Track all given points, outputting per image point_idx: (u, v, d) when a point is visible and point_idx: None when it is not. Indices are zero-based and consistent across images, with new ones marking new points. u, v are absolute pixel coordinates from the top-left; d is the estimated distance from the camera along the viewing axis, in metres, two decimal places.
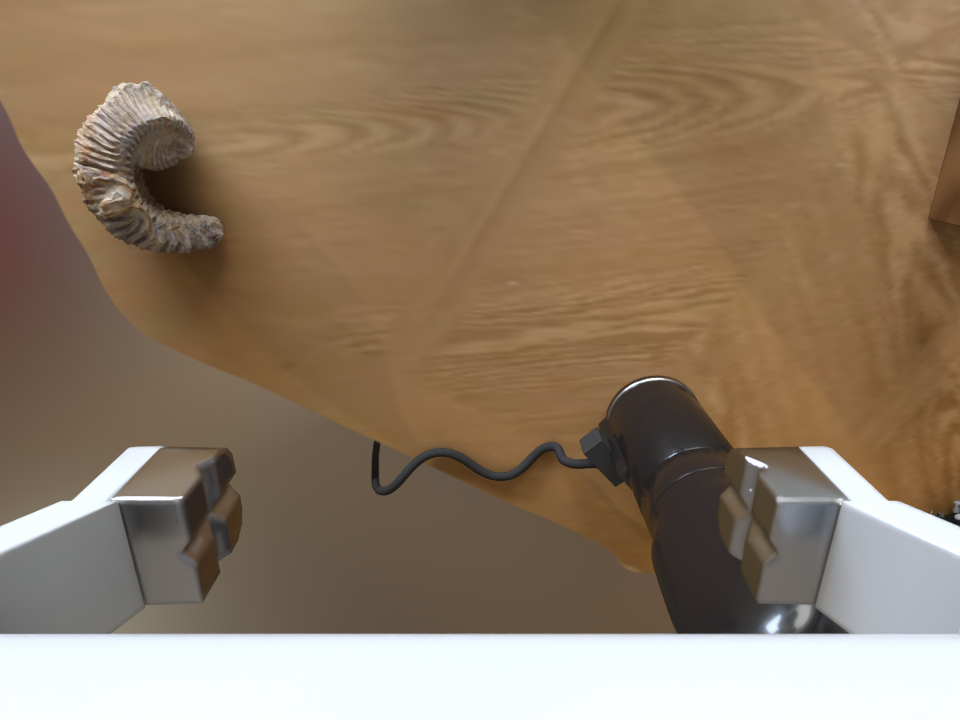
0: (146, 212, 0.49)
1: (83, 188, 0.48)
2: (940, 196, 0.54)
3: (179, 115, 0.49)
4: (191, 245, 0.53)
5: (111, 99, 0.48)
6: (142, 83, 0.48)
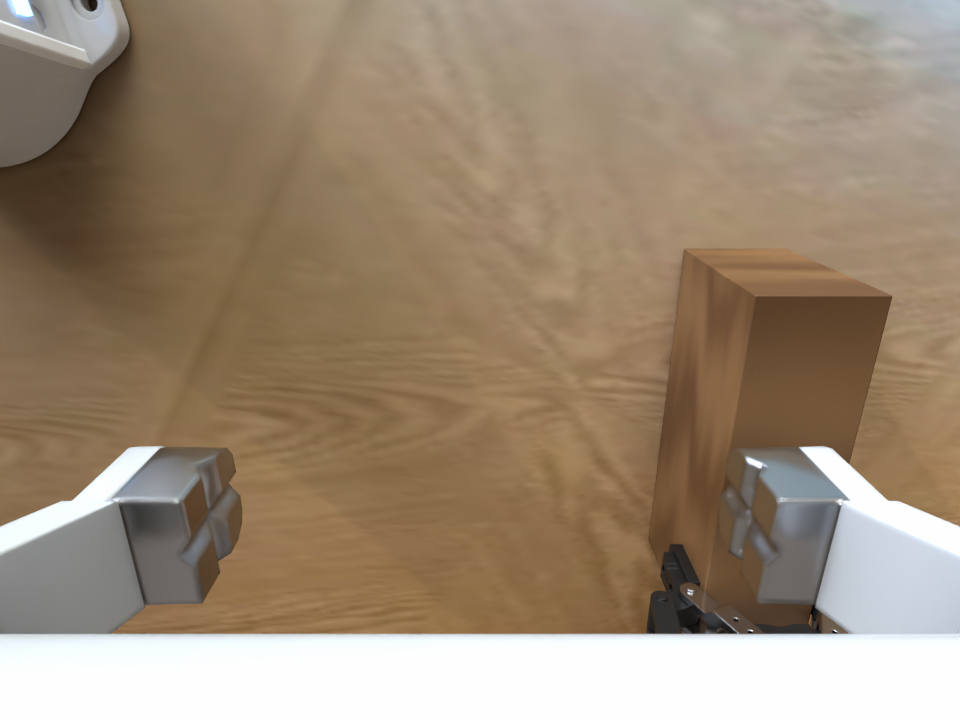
0: None
1: None
2: (654, 522, 0.44)
3: None
4: None
5: None
6: None
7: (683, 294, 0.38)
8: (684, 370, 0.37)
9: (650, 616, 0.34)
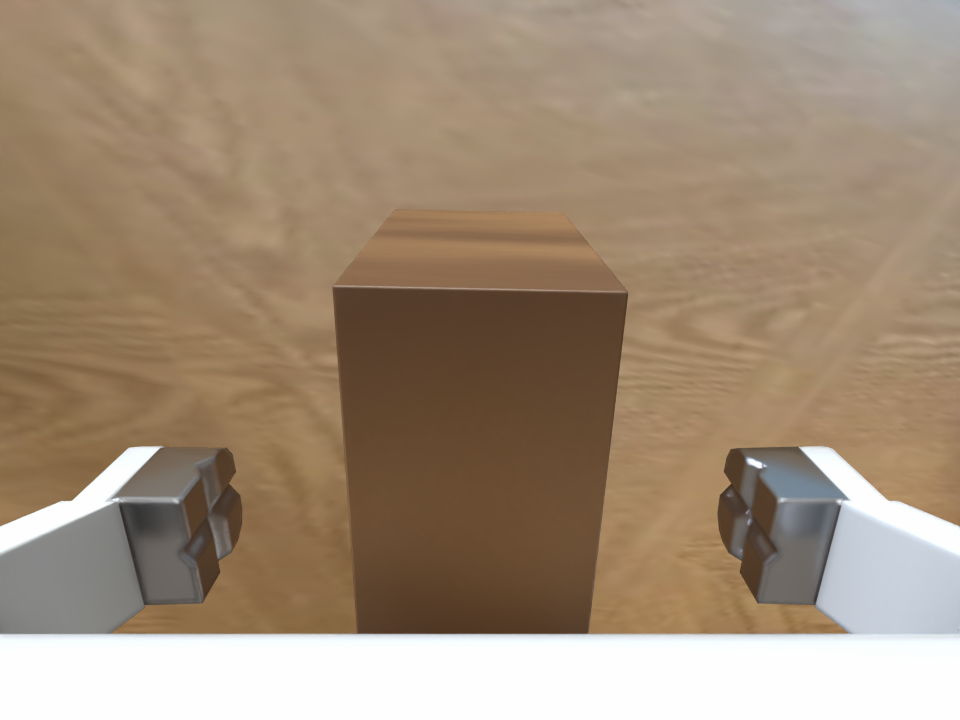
0: None
1: None
2: None
3: None
4: None
5: None
6: None
7: None
8: None
9: None
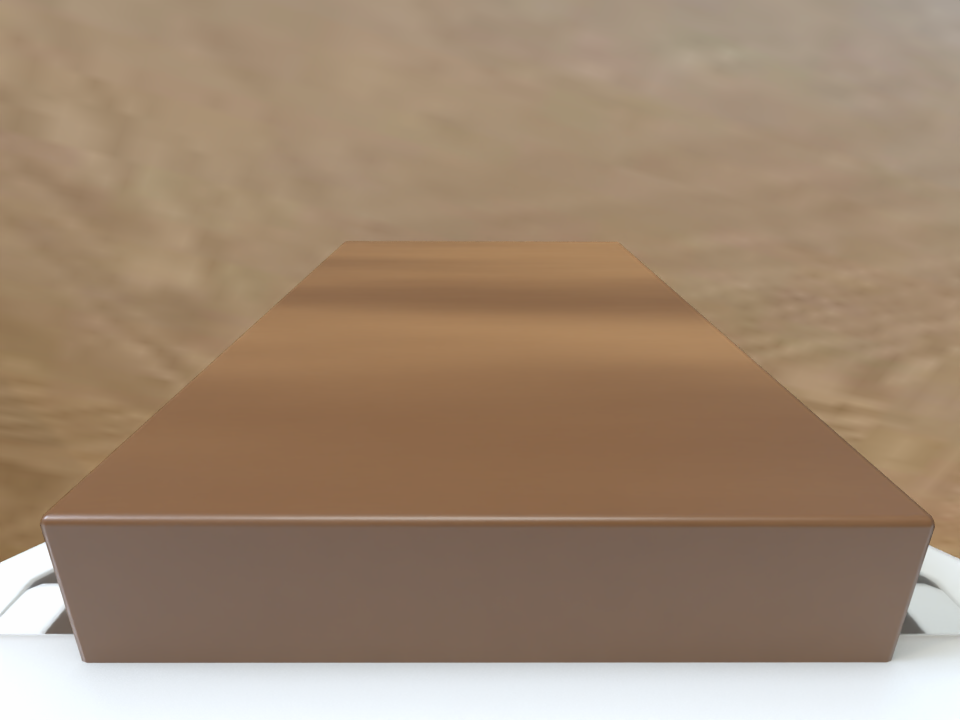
0: None
1: None
2: None
3: None
4: None
5: None
6: None
7: None
8: None
9: None
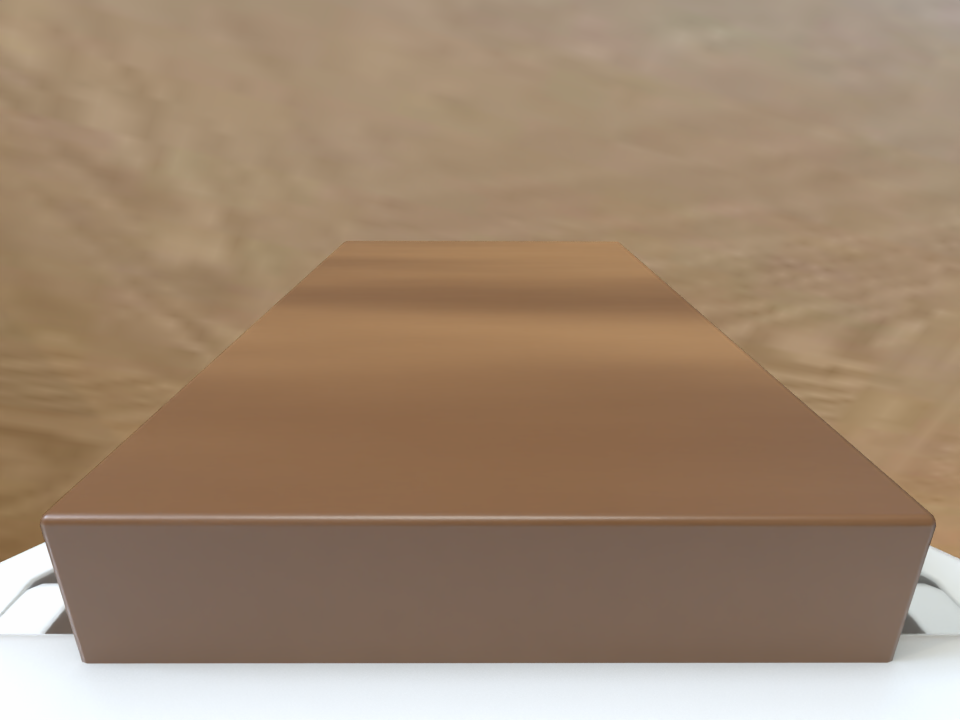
0: None
1: None
2: None
3: None
4: None
5: None
6: None
7: None
8: None
9: None
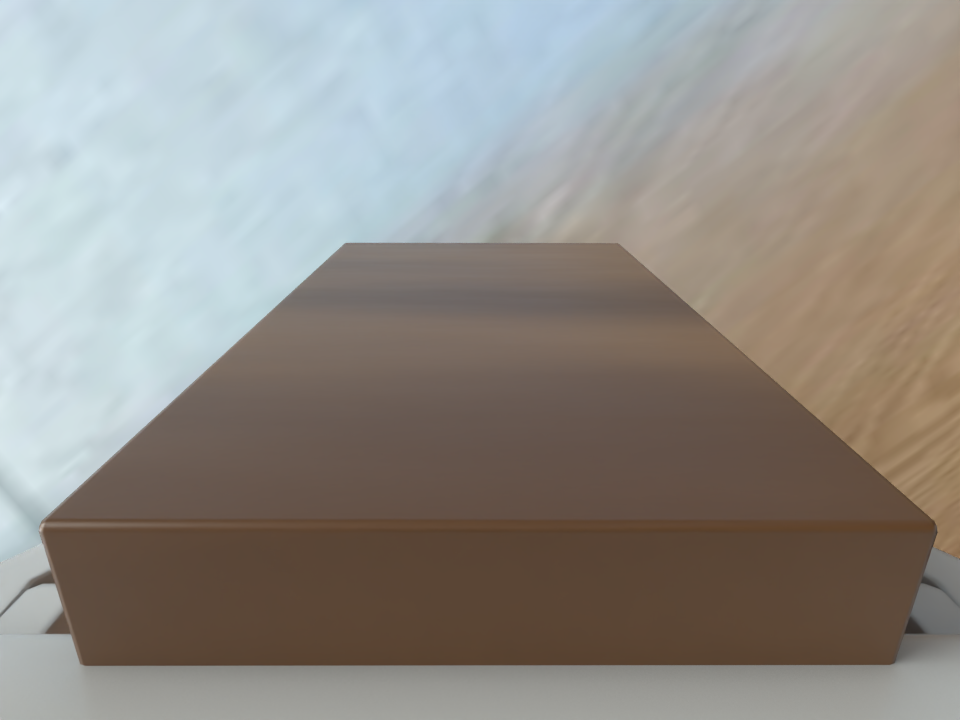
0: None
1: None
2: None
3: None
4: None
5: None
6: None
7: None
8: None
9: None
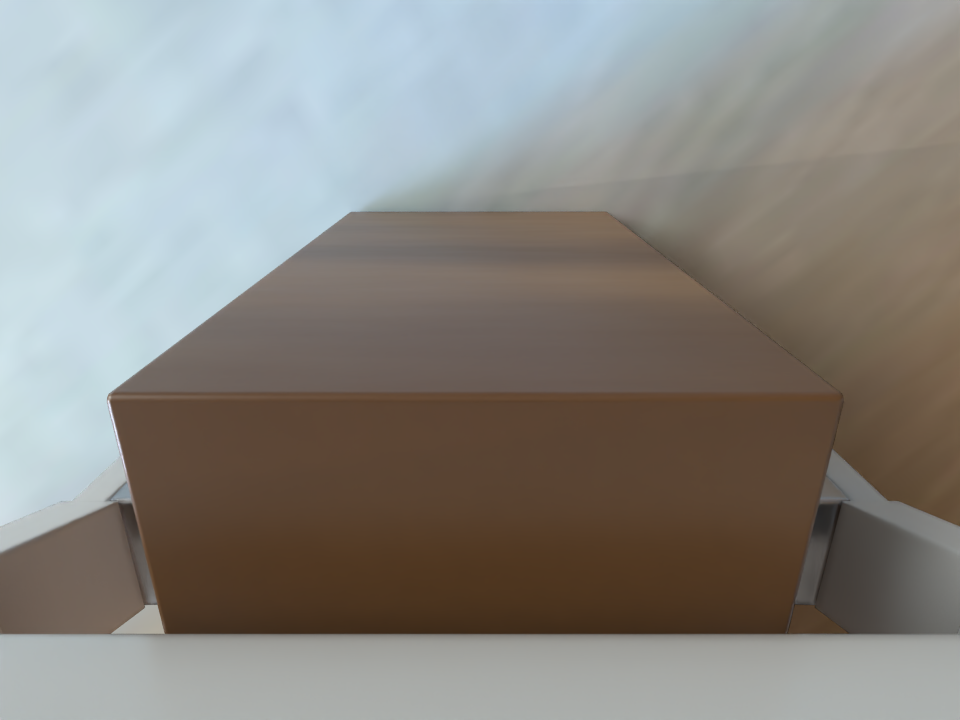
0: None
1: None
2: None
3: None
4: None
5: None
6: None
7: None
8: None
9: None
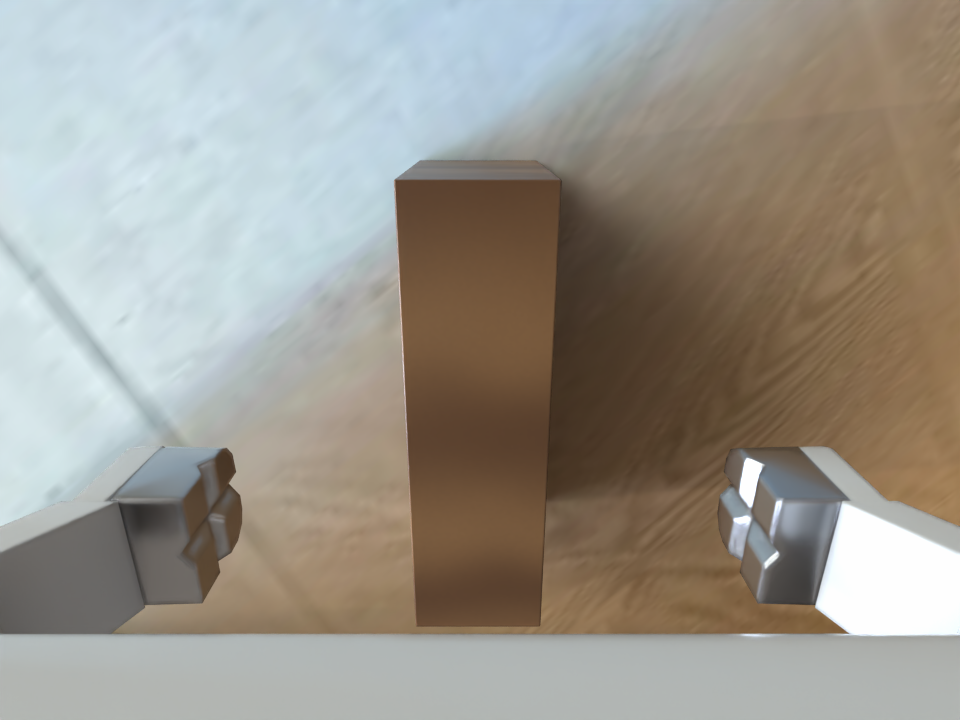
0: None
1: None
2: None
3: None
4: None
5: None
6: None
7: None
8: None
9: None
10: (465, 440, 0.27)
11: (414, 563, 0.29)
